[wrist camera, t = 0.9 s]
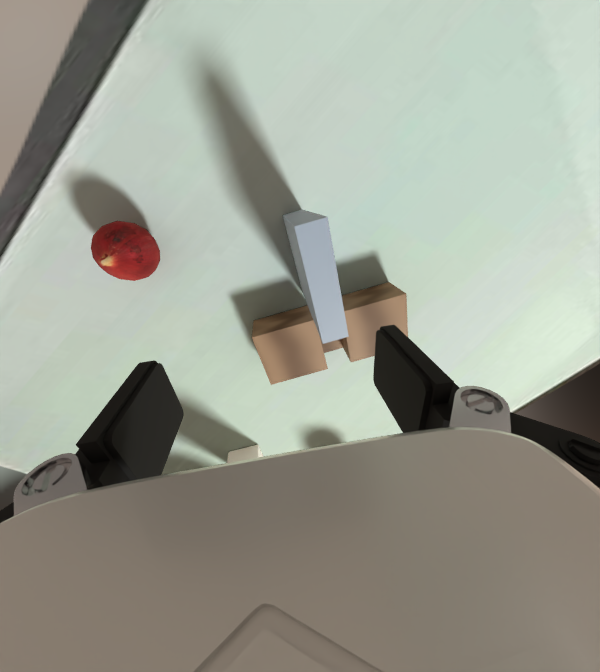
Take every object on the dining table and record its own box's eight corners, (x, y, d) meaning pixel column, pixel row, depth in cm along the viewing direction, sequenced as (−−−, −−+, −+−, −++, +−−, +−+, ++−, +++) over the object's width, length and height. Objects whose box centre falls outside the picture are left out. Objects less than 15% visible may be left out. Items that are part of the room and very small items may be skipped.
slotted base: (388, 282, 35) (406, 293, 31) (392, 329, 39) (408, 346, 35) (253, 320, 36) (251, 337, 31) (270, 364, 39) (271, 384, 35)
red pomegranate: (123, 207, 27) (74, 211, 20) (176, 236, 29) (148, 248, 22) (109, 255, 29) (61, 272, 22) (160, 279, 31) (130, 302, 24)
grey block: (301, 209, 29) (327, 216, 17) (319, 287, 34) (348, 336, 22) (282, 215, 30) (294, 226, 17) (302, 292, 34) (322, 343, 22)
